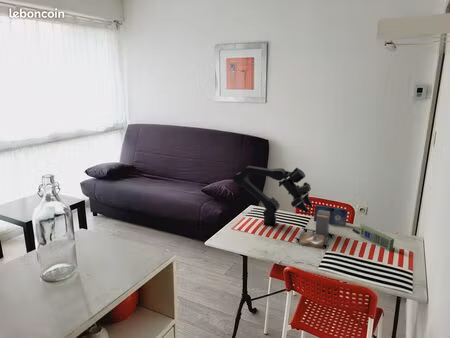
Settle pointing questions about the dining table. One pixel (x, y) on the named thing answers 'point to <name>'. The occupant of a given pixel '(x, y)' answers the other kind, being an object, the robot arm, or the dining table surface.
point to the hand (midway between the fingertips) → (310, 209)
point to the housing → (322, 222)
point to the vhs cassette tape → (333, 214)
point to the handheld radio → (376, 237)
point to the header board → (311, 240)
